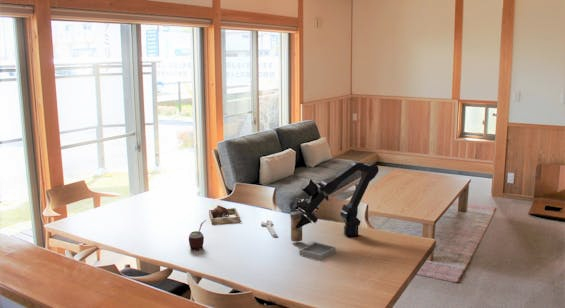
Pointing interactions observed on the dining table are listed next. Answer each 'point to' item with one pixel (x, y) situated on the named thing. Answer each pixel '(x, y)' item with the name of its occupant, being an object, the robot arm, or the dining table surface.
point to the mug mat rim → (226, 219)
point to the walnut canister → (295, 233)
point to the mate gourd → (196, 239)
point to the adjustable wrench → (269, 228)
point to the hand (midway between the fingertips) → (293, 226)
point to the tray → (317, 251)
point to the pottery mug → (219, 212)
